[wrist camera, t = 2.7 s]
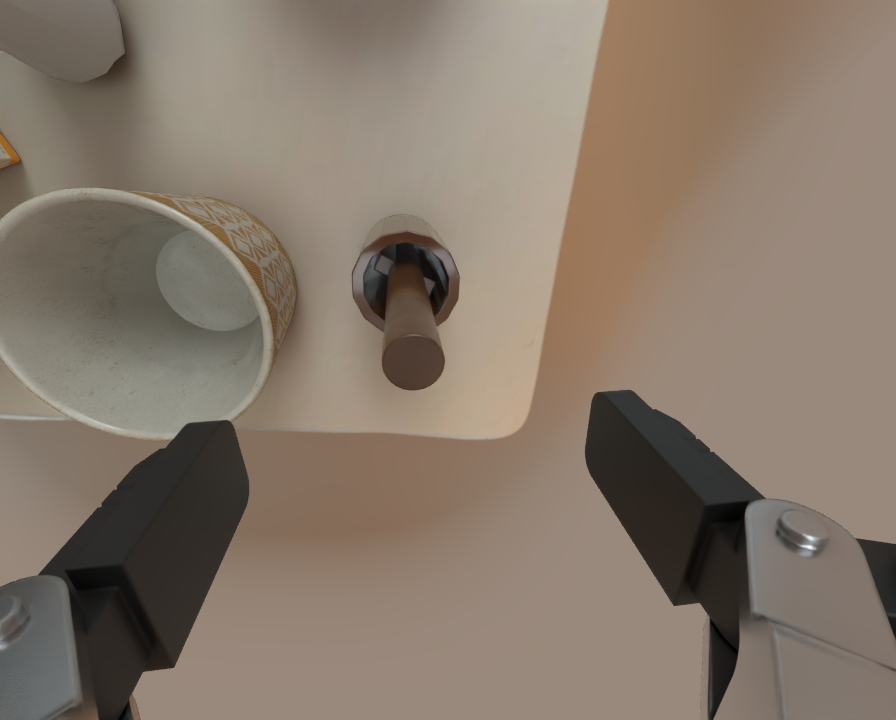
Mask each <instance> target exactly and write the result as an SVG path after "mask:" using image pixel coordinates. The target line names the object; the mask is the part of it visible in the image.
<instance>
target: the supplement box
mask: <svg viewBox="0 0 896 720" xmlns="http://www.w3.org/2000/svg"><path fill="white" fill-rule="evenodd" d="M19 161H20V159H19V157H18V155H17V154H16V153H15V152H14V150H13V149H12V148H11V146H10V145H9V143H8V142H7V141H6V140H5V138H4V137H3V135H2V134H1V133H0V169H1V168H4V167H7V166H10V165H12V164H15V163H18V162H19Z"/></svg>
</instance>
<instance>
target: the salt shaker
mask: <svg viewBox="0 0 896 720" xmlns="http://www.w3.org/2000/svg"><path fill="white" fill-rule="evenodd" d="M0 50H2V51H4V52H6V53H8V54H10V55H12V56H13V57H15V58H17V59H19V60H21V61H22V62H24V63H26V64H28V65H30V66H31V67H33V68H35V69H37V70H38V71H40V72H42V73H44V74H46V75H47V76H49V77H52V78H57V79H63V80H68V81H74V82H87V81H89V80H92V79H94V78H96V77H99V76H101V75H104V74H106V73H107V72H108V70H109V69H110V67H111V66H112V65H113V63H114V62H115V61H116V60H117V59H118V58H120V57H121V56H122V55H123V54H125V48H124V42H123V35H122V29H121V22H120V15H119V12H118V10H117V8H116V6H115V4H114V2H113V0H0Z"/></svg>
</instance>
